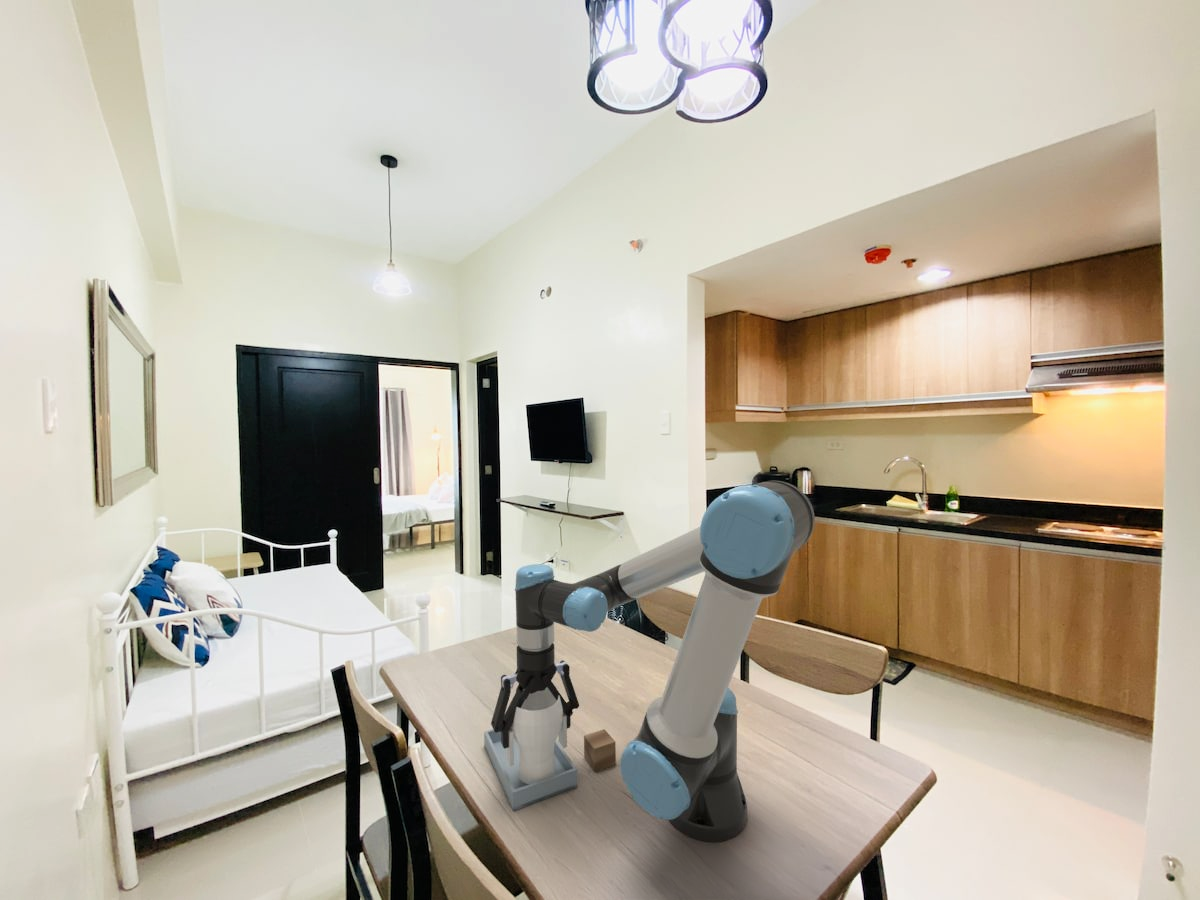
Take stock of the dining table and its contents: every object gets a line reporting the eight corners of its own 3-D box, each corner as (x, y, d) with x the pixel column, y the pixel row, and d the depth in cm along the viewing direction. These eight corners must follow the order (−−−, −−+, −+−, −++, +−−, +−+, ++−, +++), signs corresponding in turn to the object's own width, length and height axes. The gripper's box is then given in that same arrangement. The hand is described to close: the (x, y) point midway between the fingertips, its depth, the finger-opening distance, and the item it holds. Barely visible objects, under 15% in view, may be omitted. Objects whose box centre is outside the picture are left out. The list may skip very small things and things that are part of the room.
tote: (577, 786, 95) (577, 769, 95) (513, 811, 89) (512, 792, 89) (539, 729, 114) (539, 715, 114) (484, 746, 108) (484, 731, 108)
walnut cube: (615, 764, 102) (615, 741, 101) (594, 772, 99) (594, 748, 99) (604, 751, 106) (604, 729, 106) (584, 758, 104) (583, 735, 104)
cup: (554, 794, 90) (553, 715, 90) (501, 786, 92) (500, 709, 92) (569, 757, 101) (568, 686, 100) (521, 751, 103) (520, 682, 103)
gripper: (579, 626, 105) (580, 726, 105) (473, 648, 94) (475, 759, 94) (595, 638, 98) (596, 745, 98) (482, 664, 87) (484, 784, 88)
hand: (537, 752), depth 96 cm, fingers closed on cup, 10 cm apart
